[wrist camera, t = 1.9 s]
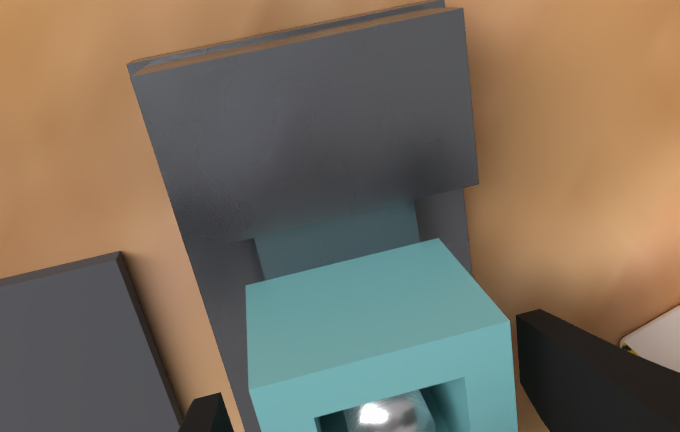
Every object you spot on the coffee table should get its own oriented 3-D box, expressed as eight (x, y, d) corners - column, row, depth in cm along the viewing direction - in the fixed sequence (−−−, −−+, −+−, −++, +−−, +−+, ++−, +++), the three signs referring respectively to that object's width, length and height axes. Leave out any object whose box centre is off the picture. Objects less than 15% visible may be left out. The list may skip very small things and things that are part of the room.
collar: (457, 391, 16) (523, 508, 12) (289, 438, 15) (305, 573, 12) (438, 237, 14) (510, 320, 10) (245, 285, 14) (248, 390, 10)
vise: (479, 443, 21) (577, 619, 15) (274, 502, 20) (289, 711, 14) (431, -1, 15) (562, -4, 9) (133, 60, 14) (57, 102, 8)
